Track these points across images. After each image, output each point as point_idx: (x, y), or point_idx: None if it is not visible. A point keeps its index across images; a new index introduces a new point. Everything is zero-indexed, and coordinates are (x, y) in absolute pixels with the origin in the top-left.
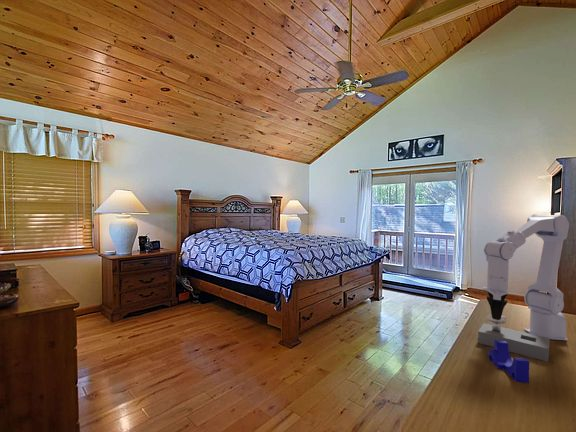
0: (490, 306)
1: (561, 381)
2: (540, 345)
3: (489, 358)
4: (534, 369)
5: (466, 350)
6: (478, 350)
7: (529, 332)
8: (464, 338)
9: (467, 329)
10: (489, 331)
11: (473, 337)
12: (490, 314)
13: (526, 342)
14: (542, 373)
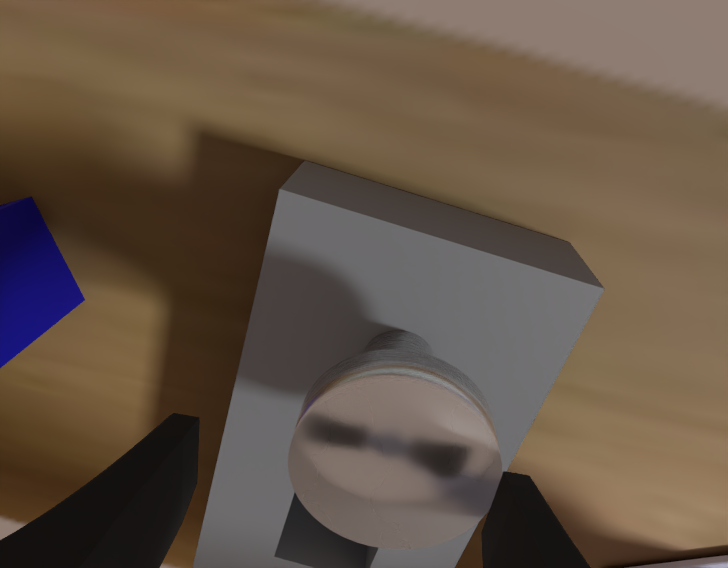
0: (3, 542)
1: (3, 492)
2: (222, 563)
3: (14, 201)
4: (58, 422)
5: (63, 34)
6: (133, 141)
7: (698, 562)
8: (357, 41)
9: (651, 98)
10: (337, 297)
11: (428, 135)
12: (447, 421)
13: (228, 504)
14: (34, 443)
